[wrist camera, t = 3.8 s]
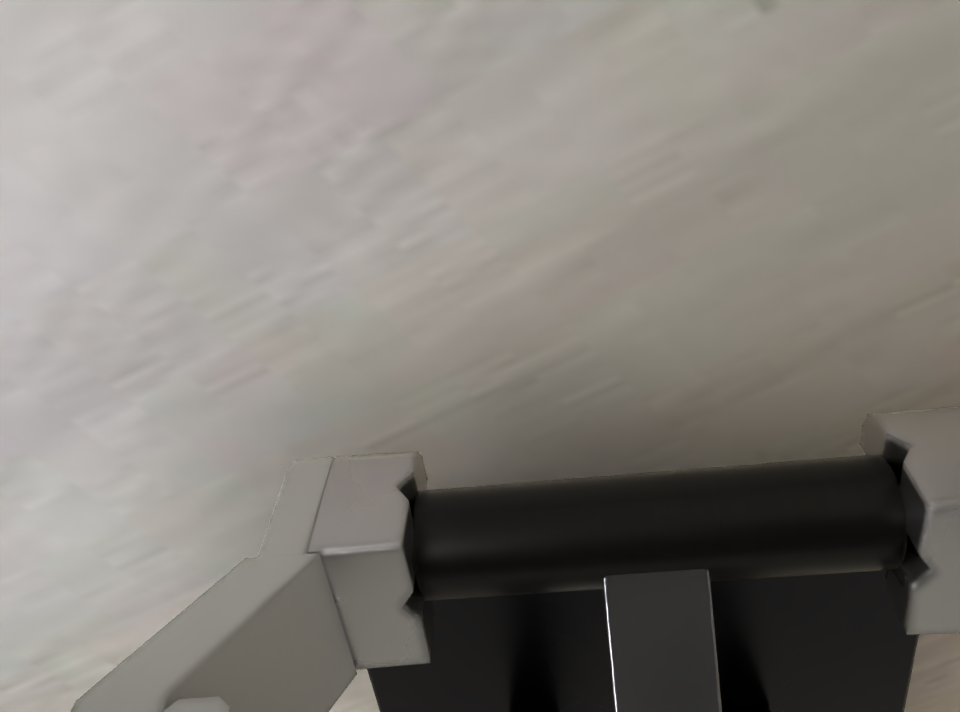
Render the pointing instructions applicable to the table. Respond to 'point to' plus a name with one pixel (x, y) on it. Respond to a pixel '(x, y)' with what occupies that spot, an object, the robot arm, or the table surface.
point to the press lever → (660, 552)
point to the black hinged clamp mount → (739, 641)
